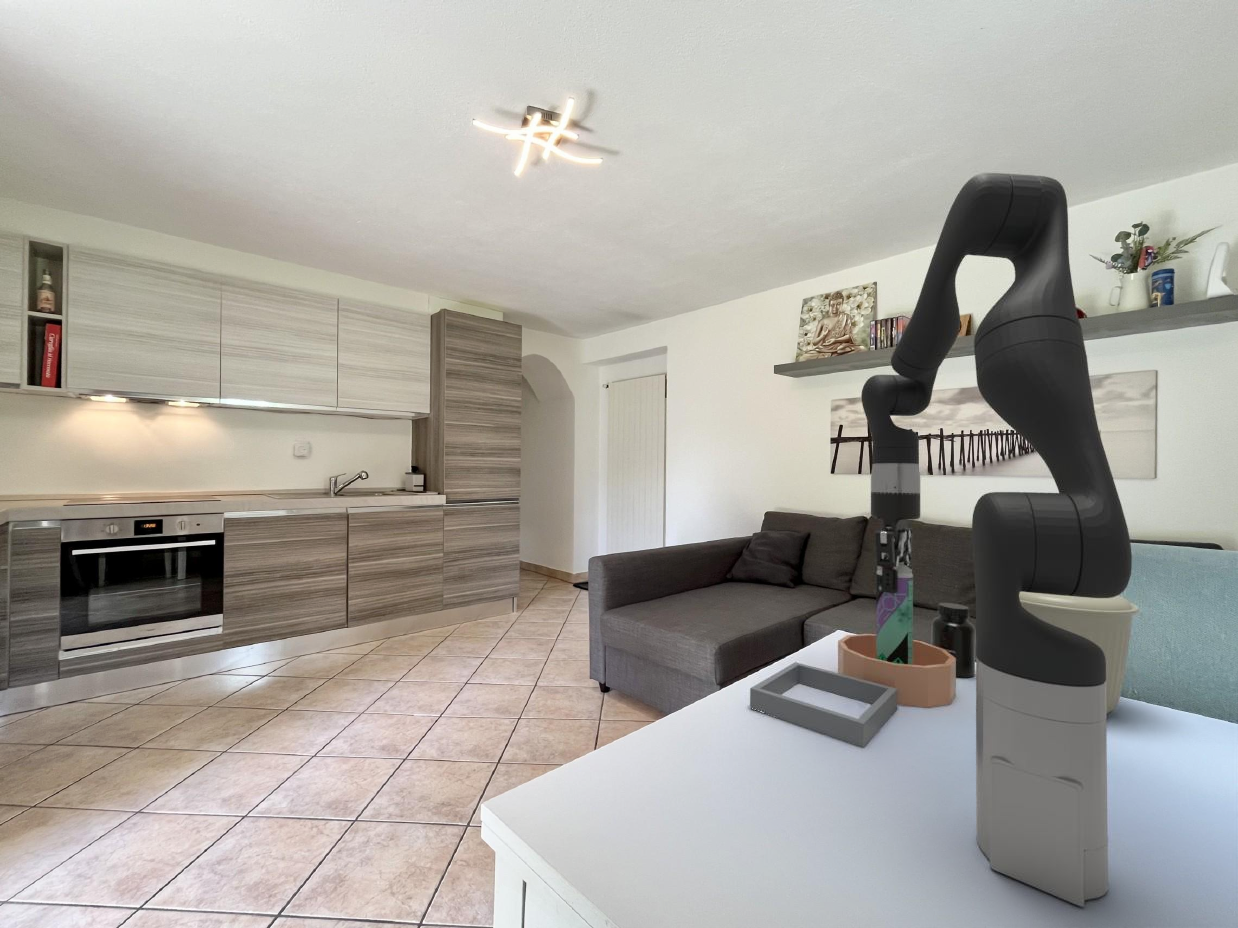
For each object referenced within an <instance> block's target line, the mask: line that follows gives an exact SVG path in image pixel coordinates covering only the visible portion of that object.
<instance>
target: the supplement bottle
mask: <svg viewBox="0 0 1238 928" xmlns="http://www.w3.org/2000/svg"><path fill="white" fill-rule="evenodd" d="M937 606H938V607H937V614H938V616H937V617H935V618H933V620H932V621H931V627H930V629H931V630H930V631H931V633H930V634H931V635H930V637H931V639H930V642H931V643H930V645H933V646H936V647H939V648H942V649H944V650H946V651H947V652H948V653H950V654H951V655H952V656H953V657H955V658H956V678H964V679H965V678H972V677H973V676H974V675H975V673H976V626H975V625H973V623H971V622H970V621H969V619H970V608H969V607H968V606H966V605H962V604H958V603H951V602H940V603H938V604H937Z"/></svg>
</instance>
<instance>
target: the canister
mask: <svg viewBox="0 0 1238 928" xmlns="http://www.w3.org/2000/svg"><path fill="white" fill-rule="evenodd" d="M1019 598H1020V603H1021V605H1022V607H1023V608H1025V609H1026V610H1027V611H1028V612H1030V613H1031V614H1033V615H1034V616H1036V617H1037V618H1039V619H1041V620H1043V621H1045V622H1047V623H1049V624H1052V625H1054V626H1056V627H1059V628H1062V629H1064V630H1067V631H1070V632H1072V633H1075V634H1077V635H1080V636H1082V637H1084V638H1086V639H1088V640H1090V641H1092V642H1093V643H1095V644H1096V645H1098V646H1099V647H1100V648H1101V649H1102V651H1103V652H1104V655H1105V659H1106V712H1107V714H1108V713H1111V712H1112V711H1113V710H1115V709H1116V707H1117V706H1118V704H1119V701H1120V700H1121V694H1122V689H1123V685H1124V679H1125V674H1126V667H1127V660H1128V654H1129V646H1130V638H1131V632H1132V623H1133V616H1134V615H1135V614H1138V612H1139V611H1140V607H1139V606H1138V605H1136V604H1134V603H1131V602H1129V601H1128V599H1126V598H1125V597H1122V596H1121V595H1118V596H1115V597H1112V598H1088V597H1075V596H1063V595H1052V594H1042V593H1031V592H1020V593H1019Z"/></svg>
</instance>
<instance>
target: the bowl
mask: <svg viewBox="0 0 1238 928" xmlns="http://www.w3.org/2000/svg"><path fill="white" fill-rule="evenodd" d="M837 673H839V674H843V675H847V676H851V677H854V678H858V679H862V680H866V681H870V682H874V683H878V684H881V685H885V686H889V687H893V688H897V689H898V705H899V706H900V705H901V706H908V707H909V706H910V707H917V708H925V709H926V708H928V709H929V708H934V707H936V708H937V707H940V706H941V707H942V706H949V705H951V704H952V703H953V701H954V699H955V698H956V695H957V693H956V692H957V686H956V685H957V681H956V680H957V679H956V678H957V677H956V658H955V657H953V656H952V655H951V654H950V653H948V652H947V651H946V650H944V649H942V648H939V647H936V646H933V645H931V643H930V644H929V643H927V642H925V641H920V640H916V639H913V665H908V664H897V663H891V662H887V661H883V660H878V659H876V633H875V634H873V633H862V634H860V633H859V634H850V635H849V634H848V635H845V636H844V637H842V638H841V639H839V640H837Z"/></svg>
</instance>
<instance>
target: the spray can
mask: <svg viewBox="0 0 1238 928" xmlns="http://www.w3.org/2000/svg"><path fill="white" fill-rule="evenodd" d="M887 560H890V557H889V556H888V558H887ZM897 571H898V591H897V592H896V593H888V592H884V591H883V590H882V569H881V568H880V566H877V570H876V591H875V592H876V597H875V598H876V599H875V600H876V602H875V603H876V604H875V605H876V607H875V608H876V613H875V614H876V617H875V618H876V630H875V631H876V633H875V634H876V659H878V660H883V661H887V662H891V663H897V664H908V665H913V640H914V574H913V573H912V572H913V569H912V568H909V566H906V565H904V562H902V560H901V559H900V558H899V564H898V570H897Z"/></svg>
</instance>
